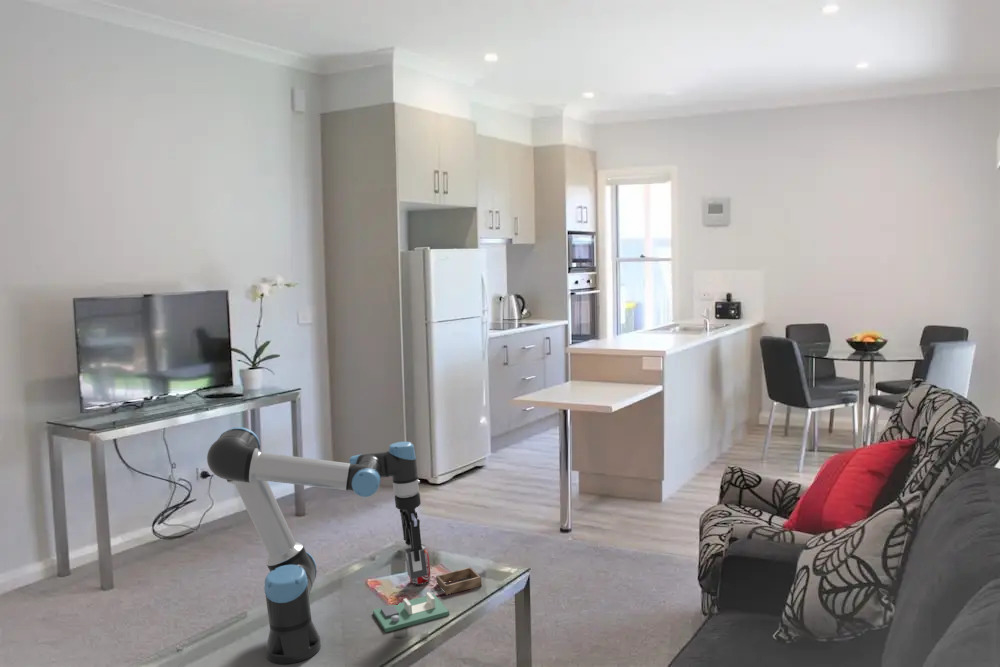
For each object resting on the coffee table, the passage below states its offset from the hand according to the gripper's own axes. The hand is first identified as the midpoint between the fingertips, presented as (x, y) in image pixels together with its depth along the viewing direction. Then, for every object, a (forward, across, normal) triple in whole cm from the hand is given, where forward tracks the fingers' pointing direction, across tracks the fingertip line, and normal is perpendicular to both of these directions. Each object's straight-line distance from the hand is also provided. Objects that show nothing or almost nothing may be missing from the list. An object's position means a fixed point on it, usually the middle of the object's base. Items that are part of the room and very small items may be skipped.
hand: (415, 567), depth 254 cm
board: (+15, +2, +3) cm, 15 cm away
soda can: (+15, +23, -7) cm, 28 cm away
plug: (+2, 0, 0) cm, 2 cm away
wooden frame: (+15, +13, -17) cm, 26 cm away
